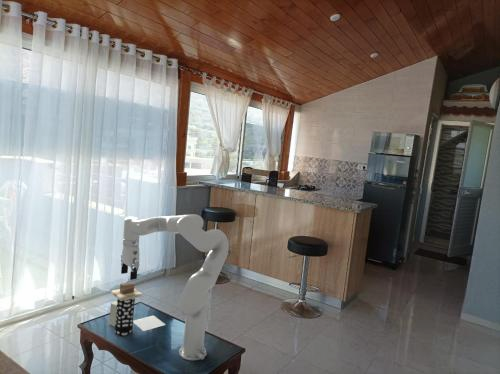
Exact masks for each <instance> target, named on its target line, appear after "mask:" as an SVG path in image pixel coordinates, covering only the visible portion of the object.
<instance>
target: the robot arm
mask: <svg viewBox="0 0 500 374" xmlns="http://www.w3.org/2000/svg"><path fill="white" fill-rule="evenodd" d="M203 226H204V219H203V217H202V216H201V215H199V214H194V213H193V214H191V213H190V214H181V215H168V216H165V215H164V216H154V217H153V216H152V217H148V218H144V219H140V217H136V216H127V217H125V218H124V222H123V234H122V235H123V237H122V252H121V255H120V258H121V260H120V262H121V263H120V264H121V267H120V269H121V271H120V273H121V275H123V274H125V275H126V274H128V272H129V271H128V270H129V268H130V272H129V273H130V275H129V280H131V281H132V280H137V278H138V271H139V267H140V236H142V237H143V236H148V235H150V234H153V233H159V232H160V233H161V232H162V233H163V232H167V233H169V234H171V235H174V234H175V235H176V234H180V235H181V236H182V237H183V238H184V240H186V241H187V242H188V243H189V244H191V245H192V246H193V247H194V248H195V249H197V250H198V251H200V252H202V253H207V255H206V257H205V259H204V262H203V264H202V266H201V268H200V269H199V270H198V271H197V272H194V273H193V274H192V275H191V276H190V277H189V279H188V280H187V282H186V284H185V286H184V289H183V291H182V294H181V296H180V298H179V301H178V309H179V311H180V313H181V314H182V315H184V316H185V319H184V320H185V322H184V331H183V341H182V346H181V347H180V348H179V350H178V355H179V356H180V358H182V359H184V360H186V361H199V360H205V357H206V356H207V355H208V353H207V350H206V348H205V346H204V344H205V335H206V327H207V326H206V323H207V315H208V309H209V306H210V299H211V297H210V296H211V295H210V292H209V291H210V290H211V289H212V288H213V287H214V286H215V285H216V282H217V281H218V278H219V275H220V273H221V271H222V269H223V266H224V264H225V262H226V259H227V257H228V254H229V247H230V244H229V239H228V238H227V235H226V233H224V232H223V231H222V230H220V229H218V228H212V229H209V230H206V231H205V230H204V229H202V228H203Z"/></svg>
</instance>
